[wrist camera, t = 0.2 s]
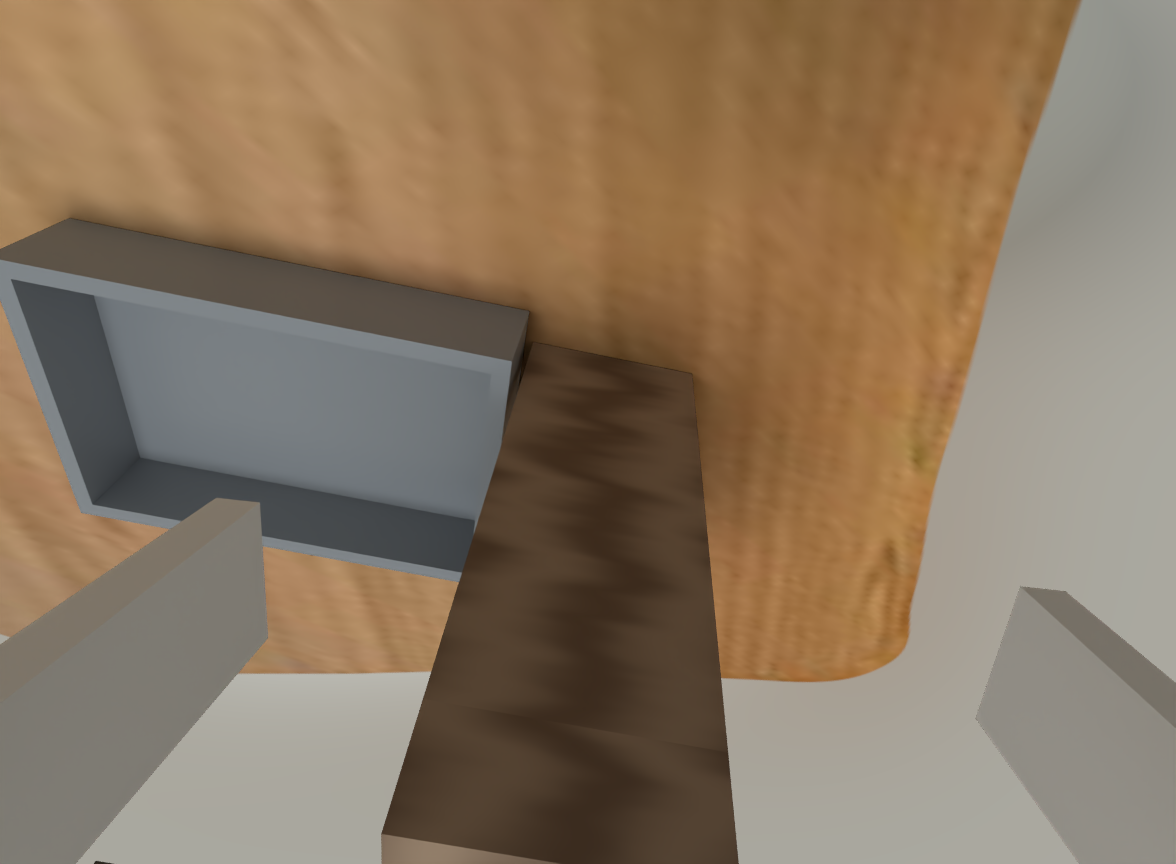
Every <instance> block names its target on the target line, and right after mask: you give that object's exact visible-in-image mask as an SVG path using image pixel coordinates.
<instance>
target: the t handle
mask: <svg viewBox="0 0 1176 864" xmlns="http://www.w3.org/2000/svg"><path fill="white" fill-rule="evenodd" d="M94 864H111V863H105V862H99V861H95V863H94Z"/></svg>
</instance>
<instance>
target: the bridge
mask: <svg viewBox="0 0 1176 864" xmlns="http://www.w3.org/2000/svg"><path fill="white" fill-rule="evenodd" d="M381 841H382V842H381V843H382V864H739V863H738V852H737V842H736V832H735V821H734V810H733V801H732V790H731V779H730V768H729V758H728V747H727V736H726V726H725V715H724V705H723V695H722V684H721V673H720V662H719V652H718V641H717V631H716V620H715V610H714V599H713V589H712V578H711V567H710V557H709V546H708V536H707V525H706V515H705V504H704V494H703V483H702V473H701V462H700V451H699V441H698V430H697V420H696V409H695V399H694V388H693V378H692V374H690V373H685V372H680V371H675V370H670V369H665V368H660V367H655V366H650V365H645V364H640V363H635V362H630V361H625V360H620V359H615V358H610V357H605V356H600V355H595V354H590V353H585V352H580V351H575V350H570V349H565V348H560V347H555V346H550V345H545V344H540V343H535V342H533V344H532V347H531V351H530V354H529V357H528V360H527V364H526V367H525V370H524V373H523V377H522V380H521V383H520V386H519V390H518V393H517V396H516V399H515V403H514V406H513V409H512V412H511V415H510V419H509V422H508V425H507V428H506V432H505V435H504V438H503V441H502V445H501V448H500V451H499V454H498V458H497V461H496V464H495V467H494V471H493V474H492V477H491V480H490V484H489V487H488V490H487V493H486V497H485V500H484V503H483V506H482V509H481V513H480V516H479V519H478V522H477V526H476V529H475V532H474V535H473V539H472V542H471V545H470V548H469V552H468V555H467V558H466V561H465V565H464V568H463V571H462V574H461V578H460V581H459V584H458V587H457V591H456V594H455V597H454V600H453V603H452V607H451V610H450V613H449V616H448V620H447V623H446V626H445V629H444V633H443V636H442V639H441V642H440V646H439V649H438V652H437V655H436V659H435V662H434V665H433V668H432V672H431V675H430V678H429V681H428V685H427V688H426V691H425V695H424V698H423V701H422V704H421V707H420V710H419V714H418V717H417V720H416V723H415V727H414V730H413V733H412V736H411V740H410V743H409V746H408V749H407V753H406V756H405V759H404V762H403V766H402V769H401V772H400V775H399V779H398V782H397V785H396V789H395V792H394V795H393V798H392V801H391V805H390V808H389V811H388V814H387V818H386V821H385V824H384V827H383V830H382V834H381Z"/></svg>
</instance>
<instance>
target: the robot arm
mask: <svg viewBox="0 0 1176 864" xmlns="http://www.w3.org/2000/svg"><path fill="white" fill-rule="evenodd" d="M267 639H268V628H267V612H266V595H265V579H264V562H263V546H262V529H261V513H260V503H259V502H250V501H241V500H232V499H223V498H215V499H214V500H212V501H211V502H209V503H208V504H206V505H205V506H204V507H202V508H201V509H199V510H198V511H196V512H195V513H193V514H192V515H190V516H189V517H187V518H186V519H184V520H183V521H181V522H180V523H178V524H177V525H176V526H174V527H173V528H171V529H170V530H168V531H167V532H165V533H164V534H162V535H161V536H159V537H158V538H156V539H155V540H153V541H152V542H150V543H149V544H148V545H146V546H145V547H143V548H142V549H140V550H139V551H137V552H136V553H134V554H133V555H131V556H130V557H128V558H127V559H125V560H124V561H123V562H121V563H120V564H118V565H117V566H115V567H114V568H112V569H111V570H109V571H108V572H106V573H105V574H103V575H102V576H100V577H99V578H97V579H96V580H95V581H93V582H92V583H90V584H89V585H87V586H86V587H84V588H83V589H81V590H80V591H78V592H77V593H75V594H74V595H72V596H71V597H69V598H68V599H67V600H65V601H64V602H62V603H61V604H59V605H58V606H56V607H55V608H53V609H52V610H50V611H49V612H47V613H46V614H44V615H43V616H41V617H40V618H39V619H37V620H36V621H34V622H33V623H31V624H30V625H28V626H27V627H25V628H24V629H22V630H21V631H19V632H18V633H16V634H15V635H13V636H12V637H11V638H9V639H8V640H6V641H5V642H4V643H2V644H0V864H76V863H77V862H78V860H79V859H80V858H81V857H82V856H83V855H84V853H85V852H86V851H87V850H88V849H89V848H90V846H91V845H92V844H93V843H94V842H95V840H96V839H97V838H98V837H99V836H100V835H101V833H102V832H103V831H104V830H105V829H106V828H107V826H108V825H109V824H110V823H111V822H112V821H113V819H114V818H115V817H116V816H117V815H118V813H119V812H120V811H121V810H122V809H123V808H124V806H125V805H126V804H127V803H128V802H129V801H130V799H131V798H132V797H133V796H134V795H135V794H136V792H137V791H138V790H139V789H140V788H141V786H142V785H143V784H144V783H145V782H146V781H147V779H148V778H149V777H150V776H151V775H152V773H153V772H154V771H155V770H156V769H157V767H159V765H160V764H161V763H162V762H163V761H164V759H165V758H166V757H167V756H168V755H169V754H170V752H171V751H172V750H173V749H174V748H175V746H176V745H177V744H178V743H179V742H180V741H181V739H182V738H183V737H184V736H185V735H186V734H187V732H188V731H189V730H190V729H191V728H192V726H193V725H194V724H195V723H196V722H197V721H198V720H199V718H200V717H201V716H202V715H203V714H204V713H205V711H206V710H207V709H208V708H209V707H210V705H211V704H212V703H213V702H214V701H215V700H216V698H217V697H218V696H219V695H220V694H221V693H222V691H223V690H224V689H225V688H226V686H228V684H229V683H230V682H231V680H233V678H234V677H235V676H236V675H237V674H238V673H239V671H240V670H241V669H242V668H243V667H244V666H245V664H246V663H247V662H248V661H249V660H250V659H251V657H252V656H253V655H254V654H255V653H256V651H257V650H258V649H259V648H260V647H261V646H262V644H263V643H264V642H265V641H266V640H267ZM976 720H977V721H978V723H979V724H980V725H981V727H982V728H983V730H984V731H985V732H986V734H987V735H988V737H989V738H990V739H991V741H992V742H993V744H994V745H995V746H996V748H997V749H998V751H999V752H1000V753H1001V755H1002V756H1003V758H1004V759H1005V760H1006V762H1007V763H1008V765H1009V766H1010V767H1011V769H1012V770H1013V772H1014V773H1015V774H1016V776H1017V777H1018V779H1019V780H1020V781H1021V783H1022V784H1023V786H1024V787H1025V788H1026V790H1027V791H1028V793H1029V794H1030V795H1031V797H1032V798H1033V800H1034V801H1035V802H1036V804H1037V805H1038V807H1039V808H1040V810H1041V811H1042V812H1043V814H1044V815H1045V817H1046V818H1047V819H1048V821H1049V822H1050V823H1051V825H1052V826H1053V828H1054V829H1055V831H1056V832H1057V833H1058V835H1059V836H1060V837H1061V839H1062V840H1063V842H1064V843H1065V844H1066V846H1067V847H1068V849H1069V850H1070V851H1071V853H1072V854H1073V856H1074V857H1075V858H1076V860H1077V861H1078V863H1079V864H1176V683H1175V682H1174V681H1173V680H1172V679H1170V678H1169V677H1168V676H1166V675H1165V674H1164V673H1163V672H1162V671H1161V670H1159V669H1158V668H1157V667H1156V666H1155V665H1153V664H1152V663H1151V662H1150V661H1149V660H1147V659H1146V658H1145V657H1144V656H1143V655H1142V654H1140V653H1139V652H1138V651H1137V650H1135V649H1134V648H1133V647H1132V646H1131V645H1129V644H1128V643H1127V642H1126V641H1125V640H1123V639H1122V638H1121V637H1120V636H1119V635H1117V634H1116V633H1115V632H1114V631H1112V630H1111V629H1110V628H1109V627H1108V626H1107V625H1105V624H1104V623H1103V622H1102V621H1101V620H1099V619H1098V618H1097V617H1096V616H1095V615H1093V614H1092V613H1091V612H1090V611H1088V610H1087V609H1086V608H1085V607H1084V606H1083V605H1081V604H1080V603H1079V602H1078V601H1077V600H1075V599H1074V598H1073V597H1071V596H1070V595H1069V594H1068V593H1067V592H1066V591H1058V590H1048V589H1040V588H1030V587H1020V589H1019V591H1018V595H1017V597H1016V600H1015V604H1014V607H1013V609H1012V612H1011V615H1010V618H1009V621H1008V624H1007V627H1006V630H1005V633H1004V636H1003V639H1002V642H1001V645H1000V648H999V650H998V654H997V656H996V659H995V662H994V665H993V669H992V671H991V674H990V677H989V680H988V683H987V686H986V689H985V692H984V695H983V698H982V701H981V704H980V707H979V710H978V713H977V715H976Z"/></svg>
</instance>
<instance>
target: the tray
mask: <svg viewBox="0 0 1176 864" xmlns="http://www.w3.org/2000/svg"><path fill="white" fill-rule="evenodd" d="M0 301H1V303H2V306H3V309H4V311H5V314H6V316H7V319H8V322H9V324H10V327H11V330H12V332H13V335H14V338H15V340H16V343H17V345H18V348H19V351H20V353H21V356H22V359H23V361H24V364H25V366H26V369H27V372H28V374H29V377H30V380H31V382H32V385H33V388H34V390H35V393H36V395H37V398H38V401H39V403H40V406H41V409H42V411H43V414H44V416H45V419H46V422H47V424H48V427H49V430H50V432H51V435H52V437H53V440H54V443H55V445H56V448H57V451H58V453H59V456H60V459H61V461H62V464H63V466H64V469H65V472H66V474H67V477H68V480H69V482H70V485H71V487H72V490H73V493H74V495H75V498H76V501H77V503H78V506H79V509H80V511H81V513H85V514H91V515H96V516H101V517H107V518H112V519H118V520H123V521H129V522H134V523H140V524H145V525H151V526H156V527H161V528H167V529H171V528H173V527H174V526H176V525H177V524H178V523H180V522H181V521H183V520H184V519H186V518H187V517H189V516H190V515H192V514H193V513H195V512H196V511H198V510H199V509H201V508H202V507H204V506H205V505H206V504H208V503H209V502H211V501H212V500H214V499H215V498H223V499H232V500H241V501H250V502H259V503H260V513H261V529H262V546H265V547H270V548H276V549H281V550H287V551H292V552H298V553H303V554H309V555H314V556H319V557H325V558H330V559H336V560H341V561H347V562H352V563H358V564H363V565H368V566H374V567H379V568H385V569H390V570H396V571H401V572H407V573H412V574H418V575H423V576H428V577H434V578H439V579H445V580H450V581H456V582H459V581H460V578H461V574H462V571H463V568H464V565H465V561H466V558H467V555H468V552H469V548H470V545H471V542H472V539H473V535H474V532H475V529H476V526H477V522H478V519H479V516H480V513H481V509H482V506H483V503H484V500H485V497H486V493H487V490H488V487H489V484H490V480H491V477H492V474H493V471H494V467H495V464H496V461H497V458H498V454H499V451H500V448H501V445H502V441H503V438H504V435H505V432H506V428H507V425H508V422H509V419H510V415H511V412H512V409H513V406H514V403H515V399H516V396H517V393H518V388H519V381H520V374H521V367H522V360H523V353H524V345H525V338H526V331H527V324H528V317H529V311H526V310H521V309H516V308H511V307H506V306H501V305H496V304H491V303H486V302H481V301H476V300H472V299H467V298H462V297H457V296H452V295H447V294H442V293H437V292H432V291H427V290H422V289H417V288H412V287H407V286H402V285H397V284H392V283H387V282H382V281H377V280H373V279H368V278H363V277H358V276H353V275H348V274H343V273H338V272H333V271H328V270H323V269H318V268H313V267H308V266H303V265H298V264H293V263H288V262H283V261H278V260H273V259H269V258H264V257H259V256H254V255H249V254H244V253H239V252H234V251H229V250H224V249H219V248H214V247H209V246H204V245H199V244H194V243H189V242H184V241H179V240H174V239H170V238H165V237H160V236H155V235H150V234H145V233H140V232H135V231H130V230H125V229H120V228H115V227H110V226H105V225H100V224H95V223H90V222H85V221H80V220H75V219H70V218H68V219H66V220H64V221H61V222H59V223H57V224H55V225H53V226H50V227H48V228H46V229H44V230H41V231H39V232H37V233H35V234H33V235H30V236H28V237H26V238H24V239H22V240H19V241H17V242H15V243H13V244H10V245H8V246H6V247H4V248H2V249H0Z"/></svg>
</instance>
